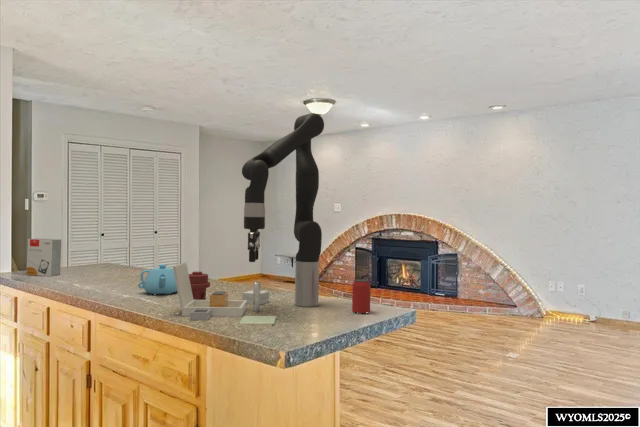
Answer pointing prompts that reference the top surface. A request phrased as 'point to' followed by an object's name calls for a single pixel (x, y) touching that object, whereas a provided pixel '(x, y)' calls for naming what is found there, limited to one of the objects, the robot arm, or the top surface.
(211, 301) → the module
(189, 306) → the case
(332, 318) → the top surface
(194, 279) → the mechanical component
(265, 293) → the small box
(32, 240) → the hard drive box
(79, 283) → the top surface
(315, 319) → the top surface
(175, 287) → the teapot
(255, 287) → the rod
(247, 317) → the pad
